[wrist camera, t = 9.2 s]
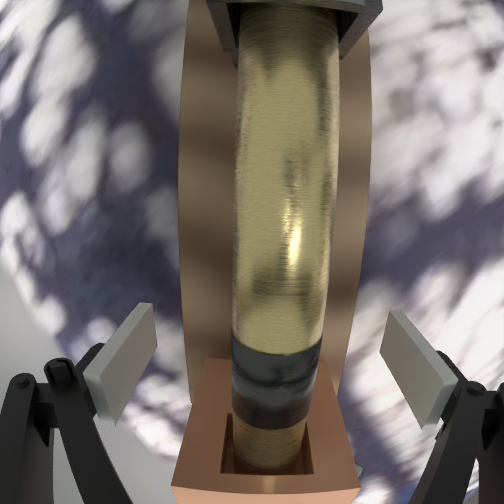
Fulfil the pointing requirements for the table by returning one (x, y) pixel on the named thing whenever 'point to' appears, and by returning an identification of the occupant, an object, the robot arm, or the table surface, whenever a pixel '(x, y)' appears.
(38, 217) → the table surface
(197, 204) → the base board
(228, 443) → the socket block
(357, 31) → the grey bridge block
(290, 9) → the tube
